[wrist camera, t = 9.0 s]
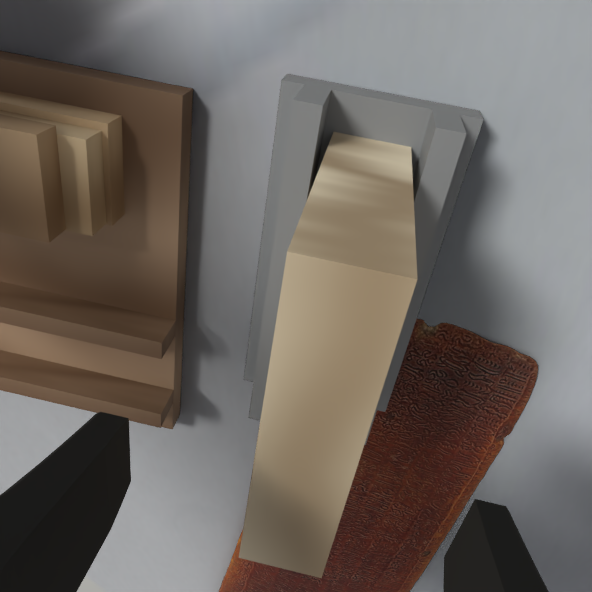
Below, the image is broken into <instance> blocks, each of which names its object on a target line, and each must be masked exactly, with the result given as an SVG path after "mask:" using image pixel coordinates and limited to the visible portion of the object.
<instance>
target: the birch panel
mask: <svg viewBox="0 0 592 592" xmlns="http://www.w3.org/2000/svg"><path fill="white" fill-rule="evenodd" d="M416 282H417V259H416V238H415V216H414V195H413V174H412V153H411V147H409V146H404V145H398V144H393V143H388V142H383V141H378V140H373V139H368V138H363V137H358V136H353V135H348V134H343V133H338V132H333V135H332V137H331V140H330V142H329V145H328V147H327V150H326V153H325V155H324V158H323V160H322V163H321V166H320V168H319V171H318V173H317V176H316V178H315V181H314V184H313V186H312V189H311V191H310V194H309V196H308V199H307V202H306V204H305V207H304V209H303V212H302V215H301V217H300V220H299V222H298V225H297V227H296V230H295V233H294V235H293V238H292V240H291V243H290V245H289V248H288V251H287V255H286V262H285V268H284V274H283V281H282V287H281V293H280V300H279V306H278V312H277V319H276V325H275V331H274V338H273V344H272V350H271V357H270V363H269V369H268V376H267V382H266V388H265V395H264V401H263V407H262V413H261V420H260V426H259V432H258V439H257V445H256V451H255V458H254V464H253V470H252V477H251V483H250V489H249V496H248V502H247V508H246V515H245V521H244V527H243V534H242V540H241V546H240V552H239V558H242V559H246V560H250V561H254V562H258V563H262V564H266V565H270V566H274V567H278V568H282V569H286V570H290V571H294V572H299V573H303V574H307V575H311V576H315V577H319V578H322V575H323V572H324V569H325V566H326V562H327V559H328V556H329V553H330V550H331V547H332V544H333V541H334V538H335V534H336V531H337V528H338V525H339V522H340V519H341V516H342V513H343V510H344V506H345V503H346V500H347V497H348V494H349V491H350V488H351V485H352V482H353V478H354V475H355V472H356V469H357V466H358V463H359V460H360V457H361V454H362V450H363V447H364V444H365V441H366V438H367V435H368V432H369V429H370V426H371V422H372V419H373V416H374V413H375V410H376V407H377V404H378V401H379V398H380V394H381V391H382V388H383V385H384V382H385V379H386V376H387V373H388V370H389V366H390V363H391V360H392V357H393V354H394V351H395V348H396V345H397V341H398V338H399V335H400V332H401V329H402V326H403V323H404V320H405V317H406V313H407V310H408V307H409V304H410V301H411V298H412V295H413V292H414V289H415V285H416Z"/></svg>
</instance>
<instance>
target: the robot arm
mask: <svg viewBox="0 0 592 592" xmlns="http://www.w3.org/2000/svg"><path fill="white" fill-rule="evenodd" d="M130 482H131V473H130V444H129V418H126V417H122V416H117V415H113V414H109V413H104V412H99V413H97V414H95V415H94V416H93V417H92V418H91V419H90V420H89V421H88V422H87V423H85V424H84V425H83V426H82V427H81V428H80V429H79V430H78V431H76V432H75V433H74V434H73V435H72V436H71V437H70V438H69V439H67V440H66V441H65V442H64V443H63V444H62V445H61V446H59V447H58V448H57V449H56V450H55V451H54V452H52V453H51V454H50V455H49V456H48V457H47V458H45V459H44V460H43V461H42V462H41V463H40V464H38V465H37V466H36V467H35V468H33V469H32V470H31V471H30V472H28V473H27V474H26V475H25V476H24V477H22V478H21V479H20V480H19V481H17V482H16V483H15V484H14V485H13V486H11V487H10V488H9V489H8V490H6V491H5V492H4V493H3V494H1V495H0V592H76V591H77V590H78V588H79V586H80V584H81V582H82V581H83V579H84V577H85V575H86V573H87V572H88V570H89V568H90V566H91V564H92V563H93V561H94V559H95V557H96V555H97V553H98V552H99V550H100V548H101V546H102V544H103V543H104V541H105V539H106V537H107V535H108V533H109V531H110V530H111V527H112V525H113V523H114V520H115V518H116V516H117V514H118V511H119V509H120V507H121V504H122V502H123V499H124V497H125V494H126V492H127V489H128V487H129V484H130ZM444 592H548V590H547V588H546V586H545V584H544V582H543V580H542V578H541V576H540V574H539V572H538V570H537V568H536V566H535V564H534V562H533V560H532V558H531V556H530V554H529V552H528V550H527V548H526V546H525V544H524V542H523V540H522V538H521V535H520V533H519V531H518V529H517V527H516V525H515V523H514V521H513V519H512V517H511V515H510V512H509V511H508V509H507V508H506V506H502V505H498V504H494V503H489V502H485V501H481V500H476V499H475V500H474V502H473V504H472V506H471V508H470V510H469V512H468V514H467V515H466V517H465V519H464V521H463V523H462V525H461V527H460V529H459V530H458V532H457V534H456V536H455V538H454V540H453V542H452V544H451V545H450V547H449V549H448V551H447V553H446V555H445V557H444Z"/></svg>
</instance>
